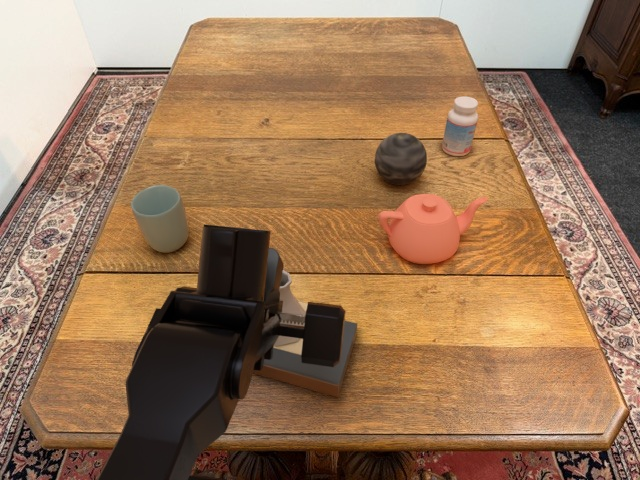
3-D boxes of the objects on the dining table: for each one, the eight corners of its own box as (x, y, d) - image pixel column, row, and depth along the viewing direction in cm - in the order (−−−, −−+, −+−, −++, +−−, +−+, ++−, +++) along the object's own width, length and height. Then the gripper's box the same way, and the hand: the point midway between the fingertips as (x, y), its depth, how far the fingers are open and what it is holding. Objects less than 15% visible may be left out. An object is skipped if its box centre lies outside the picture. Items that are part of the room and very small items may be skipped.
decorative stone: (426, 169, 97) (434, 127, 90) (418, 199, 90) (426, 156, 83) (378, 161, 99) (382, 119, 92) (367, 190, 93) (371, 147, 85)
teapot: (369, 222, 86) (372, 181, 79) (465, 214, 87) (476, 173, 80) (382, 272, 77) (387, 231, 71) (488, 263, 79) (503, 221, 72)
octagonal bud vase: (249, 318, 68) (240, 272, 60) (292, 296, 70) (288, 250, 63) (274, 355, 63) (267, 311, 56) (319, 330, 66) (318, 284, 59)
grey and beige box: (338, 397, 62) (338, 385, 60) (227, 366, 66) (224, 354, 64) (358, 328, 70) (359, 316, 68) (258, 303, 73) (256, 291, 71)
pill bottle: (470, 158, 99) (482, 111, 91) (440, 155, 100) (450, 107, 92) (470, 143, 104) (481, 95, 96) (441, 139, 105) (451, 93, 97)
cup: (171, 222, 87) (157, 178, 80) (201, 239, 84) (190, 195, 76) (138, 247, 82) (120, 203, 75) (168, 266, 79) (152, 222, 72)
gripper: (346, 262, 42) (354, 257, 57) (148, 240, 44) (207, 241, 60) (333, 387, 42) (344, 348, 58) (136, 358, 44) (198, 328, 60)
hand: (272, 313), depth 59 cm, fingers open, 9 cm apart
